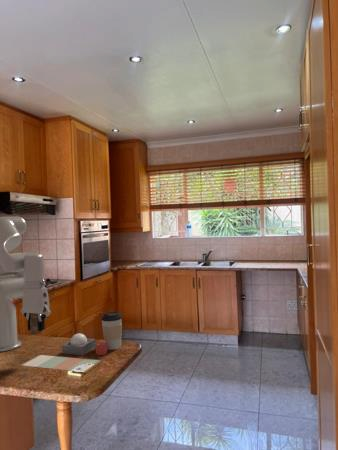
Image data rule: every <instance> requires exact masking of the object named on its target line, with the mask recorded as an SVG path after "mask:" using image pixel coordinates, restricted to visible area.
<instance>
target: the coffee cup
mask: <svg viewBox="0 0 338 450" xmlns="http://www.w3.org/2000/svg"><path fill="white" fill-rule="evenodd" d="M122 318H123V316H122V315H121V314H120V312H118V311H108V312H105V313H103V315H102V316H101V319H100V320H101V324H102V325H101V327H102V335H103V339H104V341H103V342H107V350H111V351H112V350H119V349H120V348H122V334H123V333H122V331H123V330H122V329H123V328H122V327H123V325H122V324H123V323H122Z"/></svg>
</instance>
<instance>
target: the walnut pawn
mask: <svg viewBox="0 0 338 450" xmlns="http://www.w3.org/2000/svg"><path fill="white" fill-rule="evenodd" d="M30 316H31V318H30V330H29V331H30V335H31V336H32V335H35V336H37V335H40V334H42V333H43V330H42V331H38V321H39V318H38V314H34V313H31V315H30Z"/></svg>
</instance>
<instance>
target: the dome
mask: <svg viewBox="0 0 338 450" xmlns="http://www.w3.org/2000/svg"><path fill="white" fill-rule="evenodd" d="M87 339H88V338H87V337H86V335H85V334H83V333H79V332H78V333H76V334H73V335H72V337H71V338H70V341H71V342H70V345H79V346H82V345H83V344H85V343H87Z"/></svg>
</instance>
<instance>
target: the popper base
mask: <svg viewBox="0 0 338 450" xmlns="http://www.w3.org/2000/svg"><path fill="white" fill-rule="evenodd" d="M70 342H71V340H69V341H68V342H65V343H63V344H61V351H62V352H61V353H62V354H63V355H75V356H76V355H77V356H84V355H86V354H87V353H88V352H90V351H92V350H93V349H96V344H97V343H96V338H87V343H85V344H83V345H82V346H79V345H70Z"/></svg>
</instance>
